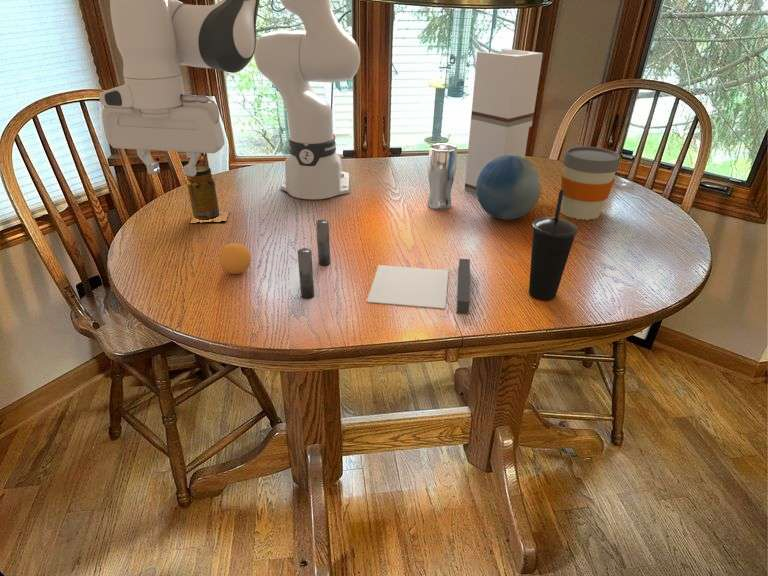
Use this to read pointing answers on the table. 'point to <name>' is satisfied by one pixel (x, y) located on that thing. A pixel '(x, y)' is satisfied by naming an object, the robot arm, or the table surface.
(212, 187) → the condiment
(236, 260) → the ball
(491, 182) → the decorative ball
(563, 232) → the drinking cup
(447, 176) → the silver metal cylinder
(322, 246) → the post
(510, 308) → the table surface
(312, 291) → the post
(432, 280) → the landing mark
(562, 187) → the reusable coffee cup
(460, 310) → the wall
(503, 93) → the tall brown-banded box
